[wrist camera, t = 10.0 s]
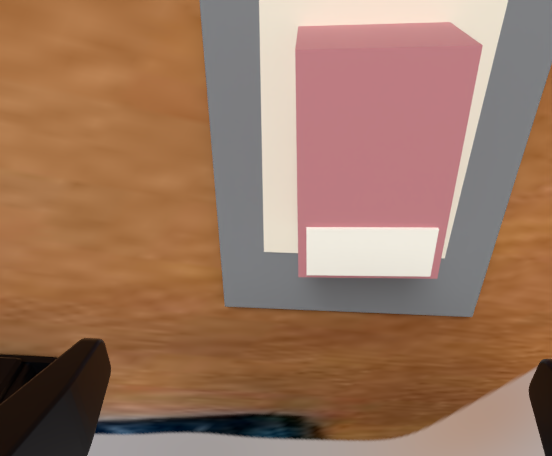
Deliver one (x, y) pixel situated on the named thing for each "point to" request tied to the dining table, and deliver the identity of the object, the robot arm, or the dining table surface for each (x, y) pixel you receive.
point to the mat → (283, 147)
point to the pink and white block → (379, 145)
